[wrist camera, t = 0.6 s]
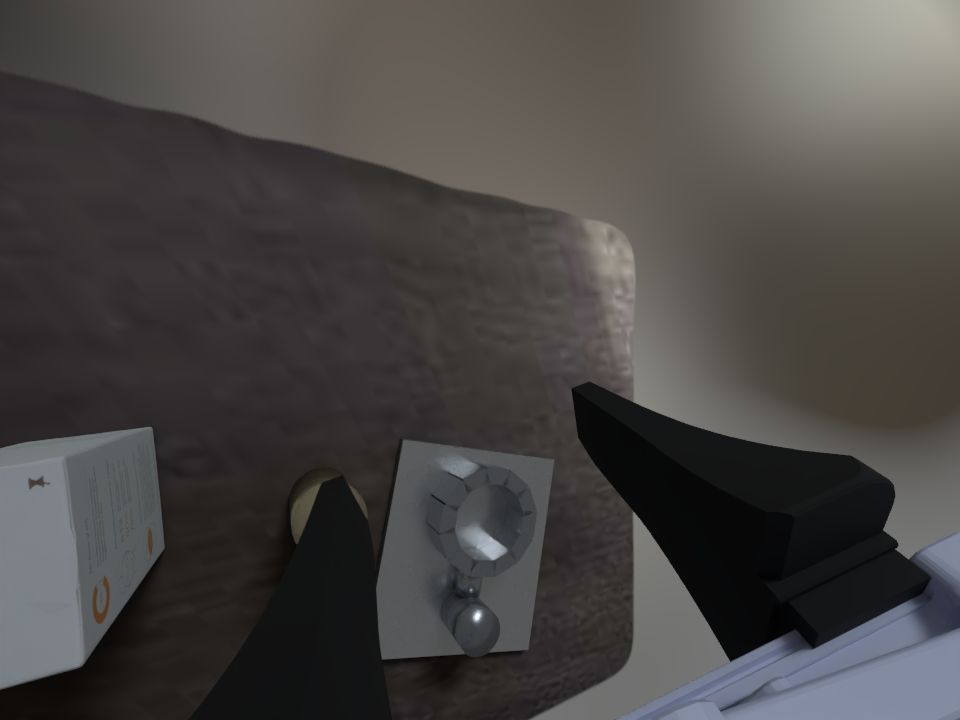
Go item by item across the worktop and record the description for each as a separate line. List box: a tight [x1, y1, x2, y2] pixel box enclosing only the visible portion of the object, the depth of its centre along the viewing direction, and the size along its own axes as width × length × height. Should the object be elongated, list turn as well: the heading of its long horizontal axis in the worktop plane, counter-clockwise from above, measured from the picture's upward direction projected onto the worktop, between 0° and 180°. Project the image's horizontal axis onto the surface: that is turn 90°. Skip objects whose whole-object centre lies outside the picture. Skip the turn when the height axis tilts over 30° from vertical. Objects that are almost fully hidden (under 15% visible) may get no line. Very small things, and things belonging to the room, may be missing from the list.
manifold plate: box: [375, 439, 554, 660], centre depth 35 cm, size 16×14×5 cm
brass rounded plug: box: [289, 468, 367, 544], centre depth 30 cm, size 4×4×6 cm
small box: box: [0, 427, 164, 690], centre depth 21 cm, size 8×6×13 cm
